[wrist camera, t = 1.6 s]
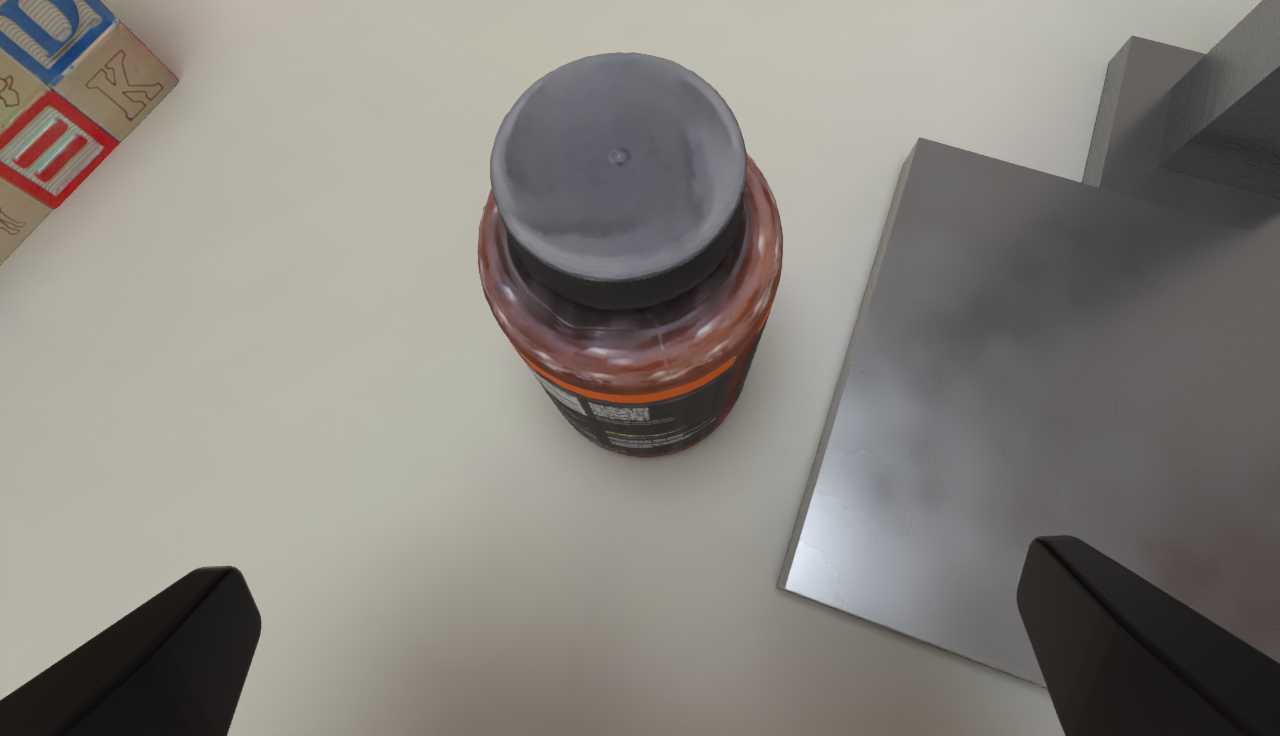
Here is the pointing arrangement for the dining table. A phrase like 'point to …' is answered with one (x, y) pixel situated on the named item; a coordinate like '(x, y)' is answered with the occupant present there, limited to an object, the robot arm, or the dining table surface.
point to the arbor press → (1069, 368)
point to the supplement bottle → (630, 249)
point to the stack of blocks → (65, 102)
